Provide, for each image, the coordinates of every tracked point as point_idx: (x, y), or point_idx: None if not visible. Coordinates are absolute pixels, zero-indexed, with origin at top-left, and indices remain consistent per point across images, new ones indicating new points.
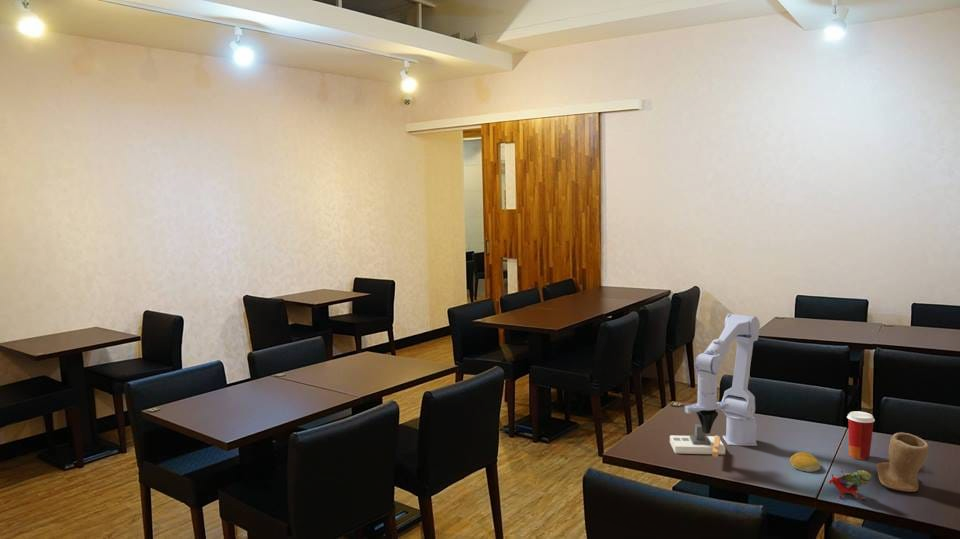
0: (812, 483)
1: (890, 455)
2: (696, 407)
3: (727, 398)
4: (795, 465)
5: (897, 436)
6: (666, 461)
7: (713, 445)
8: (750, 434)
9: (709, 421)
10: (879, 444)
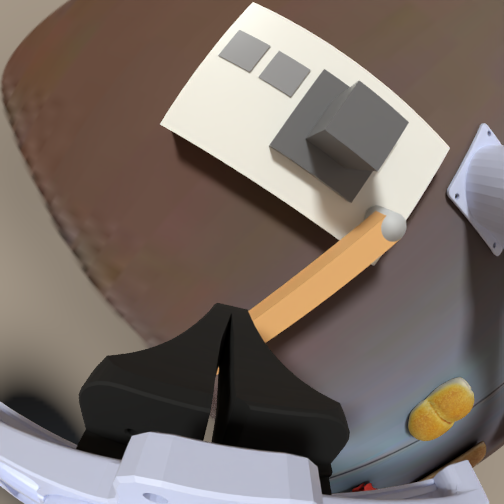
0: (356, 461)
1: None
2: (12, 494)
3: None
4: (412, 419)
5: None
6: (88, 182)
7: (260, 315)
8: None
9: (215, 424)
10: None
